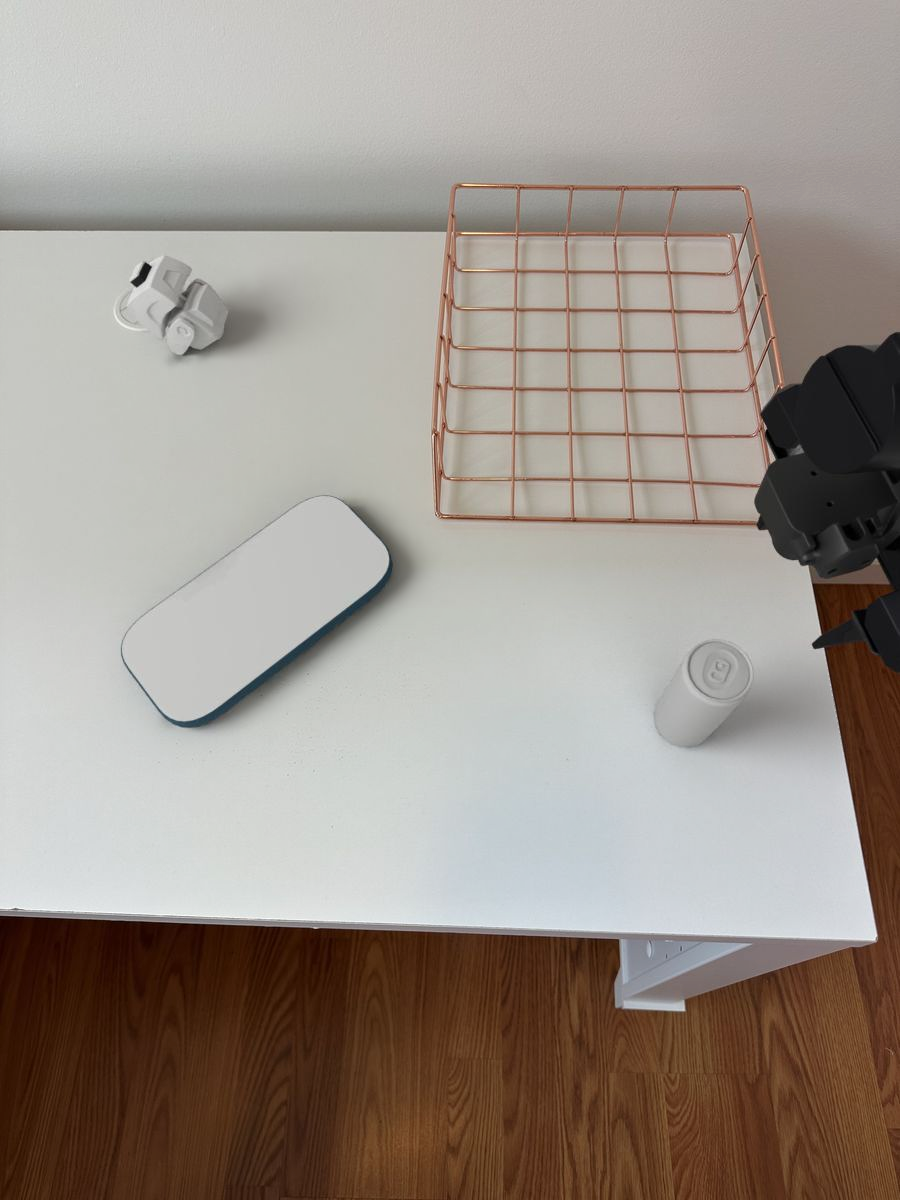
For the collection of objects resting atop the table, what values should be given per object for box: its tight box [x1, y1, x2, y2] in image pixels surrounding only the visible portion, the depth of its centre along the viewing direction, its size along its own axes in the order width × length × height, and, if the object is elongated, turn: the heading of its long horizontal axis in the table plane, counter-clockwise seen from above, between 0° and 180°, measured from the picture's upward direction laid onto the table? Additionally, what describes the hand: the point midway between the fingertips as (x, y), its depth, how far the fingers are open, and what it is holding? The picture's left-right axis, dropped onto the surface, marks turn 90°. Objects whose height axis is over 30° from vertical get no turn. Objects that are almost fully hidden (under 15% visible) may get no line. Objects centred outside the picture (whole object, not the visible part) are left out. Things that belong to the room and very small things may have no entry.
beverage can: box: [653, 638, 754, 748], centre depth 62 cm, size 5×5×12 cm
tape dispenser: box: [126, 254, 230, 356], centre depth 83 cm, size 6×7×10 cm
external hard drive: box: [120, 494, 394, 729], centre depth 72 cm, size 24×12×2 cm, turn 131°
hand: (789, 585), depth 57 cm, fingers open, 9 cm apart
